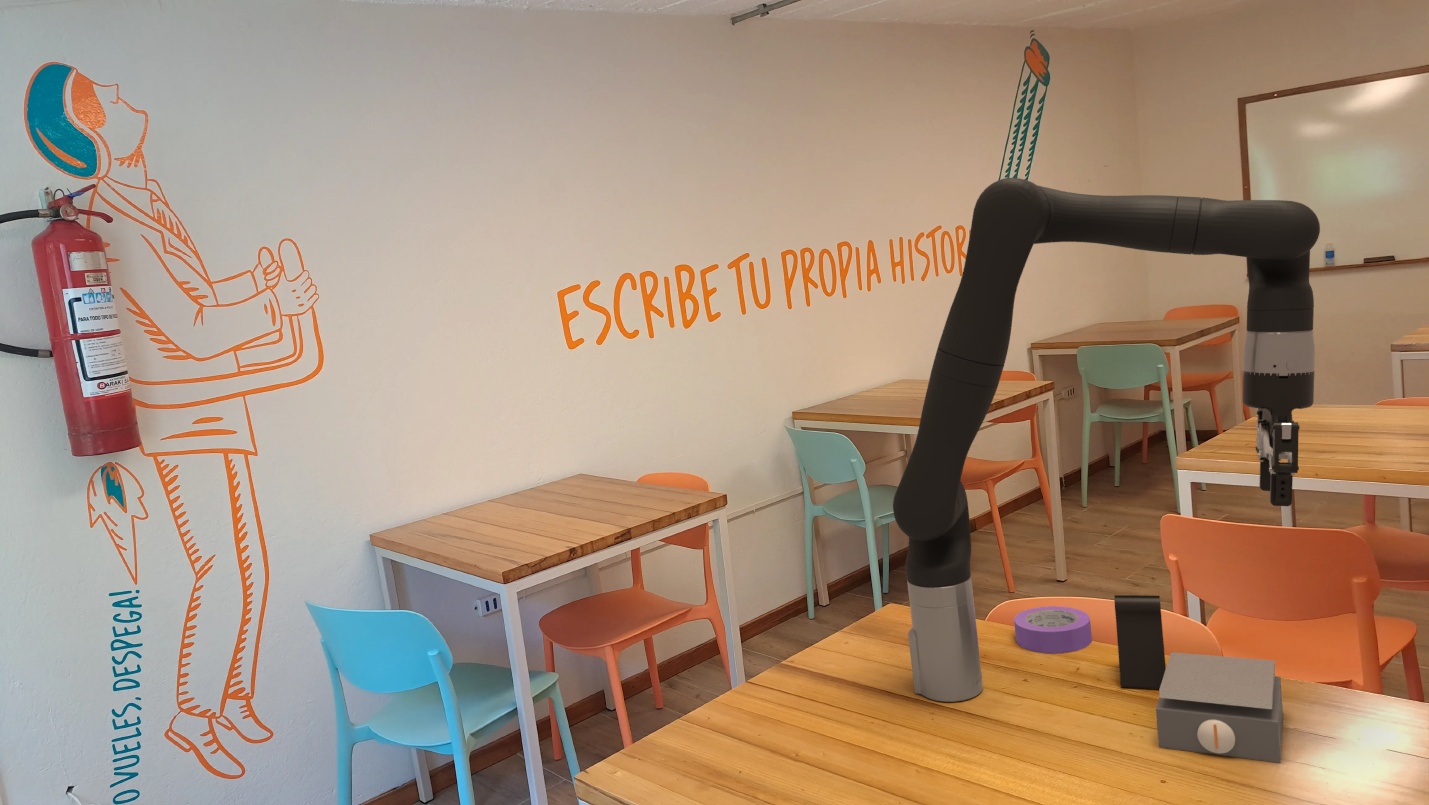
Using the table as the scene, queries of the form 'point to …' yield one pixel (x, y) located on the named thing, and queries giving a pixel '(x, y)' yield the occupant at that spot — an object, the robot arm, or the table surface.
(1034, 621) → the masking tape
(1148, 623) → the phone stand
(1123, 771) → the table surface
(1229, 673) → the pan
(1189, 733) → the base
